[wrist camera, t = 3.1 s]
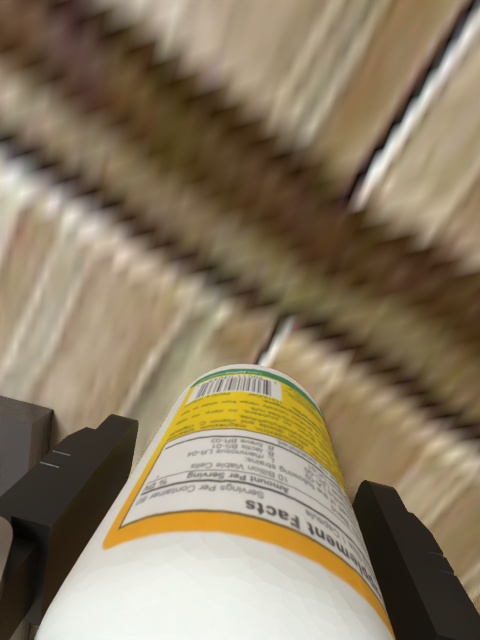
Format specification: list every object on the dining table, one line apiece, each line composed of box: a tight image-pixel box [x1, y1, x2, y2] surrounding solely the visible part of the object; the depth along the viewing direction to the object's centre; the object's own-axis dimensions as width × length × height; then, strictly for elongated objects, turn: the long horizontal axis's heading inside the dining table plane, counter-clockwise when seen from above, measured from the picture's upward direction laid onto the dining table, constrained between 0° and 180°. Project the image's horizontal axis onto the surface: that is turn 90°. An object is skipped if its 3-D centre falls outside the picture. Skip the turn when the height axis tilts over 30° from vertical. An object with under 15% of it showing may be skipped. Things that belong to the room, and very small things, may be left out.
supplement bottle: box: [34, 364, 396, 640], centre depth 6 cm, size 5×5×10 cm
